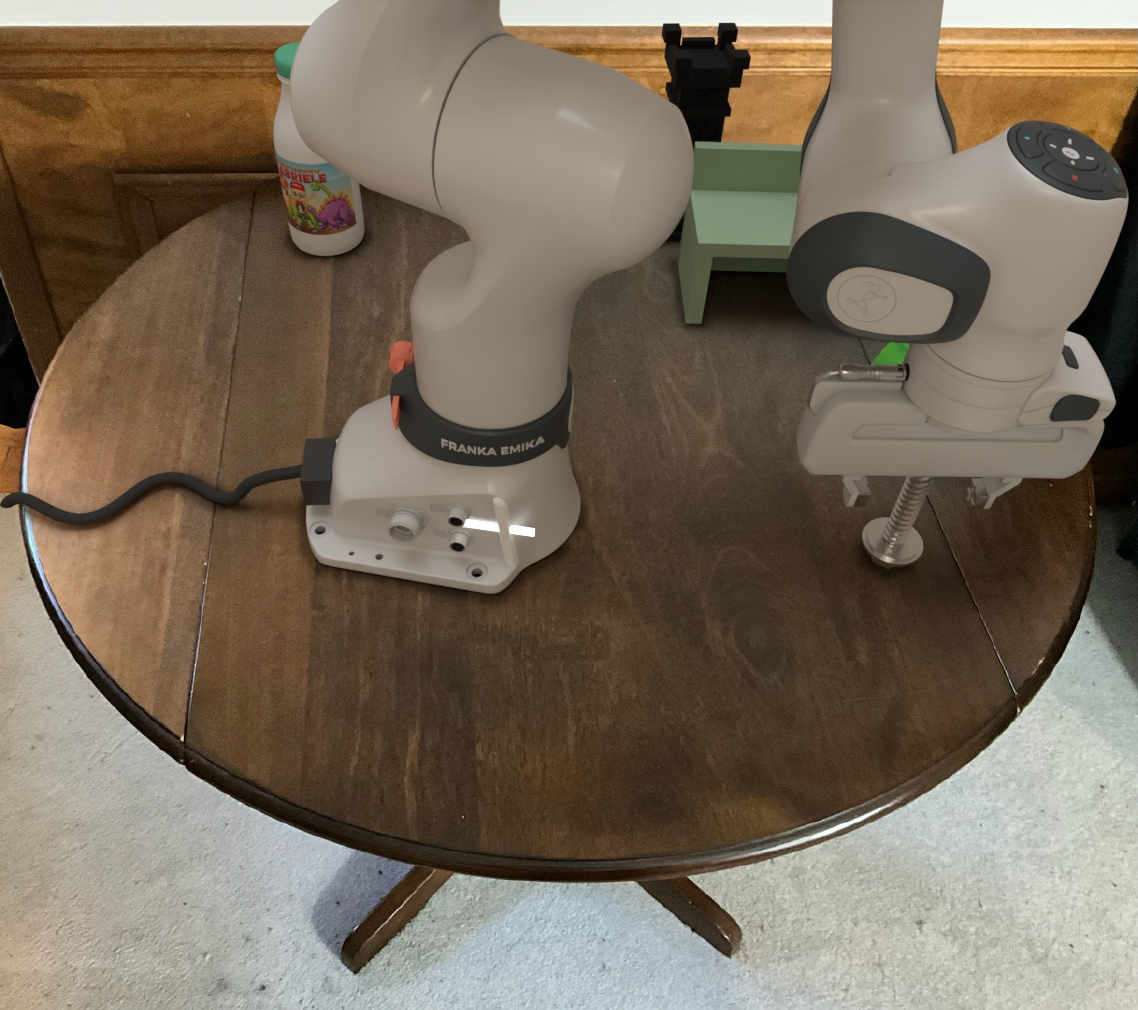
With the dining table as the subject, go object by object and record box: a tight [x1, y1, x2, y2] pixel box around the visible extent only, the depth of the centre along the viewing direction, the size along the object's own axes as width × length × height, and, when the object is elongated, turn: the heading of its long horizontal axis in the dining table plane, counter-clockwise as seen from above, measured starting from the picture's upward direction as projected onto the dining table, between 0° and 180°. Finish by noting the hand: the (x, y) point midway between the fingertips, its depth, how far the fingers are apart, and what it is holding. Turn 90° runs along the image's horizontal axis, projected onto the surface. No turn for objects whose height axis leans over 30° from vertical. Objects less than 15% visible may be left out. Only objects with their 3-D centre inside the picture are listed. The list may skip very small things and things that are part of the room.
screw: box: [860, 476, 935, 570], centre depth 80 cm, size 13×5×5 cm
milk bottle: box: [272, 41, 365, 257], centre depth 103 cm, size 8×8×20 cm
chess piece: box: [661, 22, 752, 242], centre depth 107 cm, size 8×8×20 cm
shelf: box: [677, 141, 803, 325], centre depth 102 cm, size 22×10×14 cm, turn 91°
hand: (914, 501), depth 79 cm, fingers open, 8 cm apart
